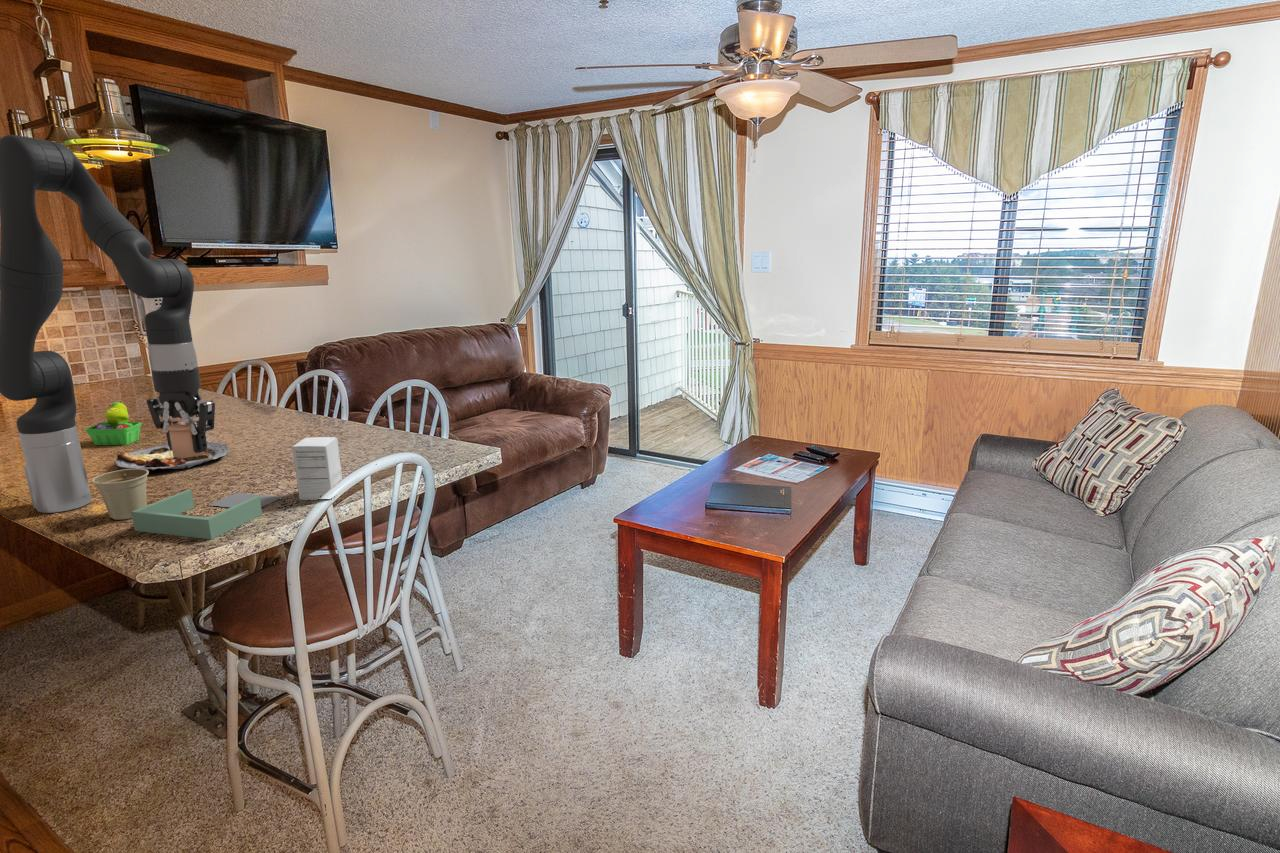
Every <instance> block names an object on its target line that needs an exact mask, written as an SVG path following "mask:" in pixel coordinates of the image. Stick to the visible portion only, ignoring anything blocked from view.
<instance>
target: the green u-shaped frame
mask: <svg viewBox="0 0 1280 853" xmlns="http://www.w3.org/2000/svg"><path fill="white" fill-rule="evenodd" d="M194 507H195V502H194V497H193V490H192V489H186V490H184V491H180V492H178V493H176V494H174V495H171V496H168V497H165V498H163V499H160V500H158V501H155V502H153V503H150V504H148V505H147V506H145V507H142V508H140V509H137V510H134V511H132V512H131V514H132V518H131V519H132V524H133V528H134V531H135V532H140V533H141V532H142V533H143V532H144V533H150V534H151V533H152V534H158V535H159V534H161V535H168V536H169V535H170V536H177V537H186V538H187V537H188V538H196V539H203V540H204V539H205V540H214V539H215V537H216V538H217V536H218V537H220V536H222V535H223V534H225V533H228V532H229V531H232V530H234V529H236V528H239V527H240V526H242V525H244V524H246V523H248V522H250V521H252V520H254V519H257V518H258V517H260V516H262V515H263V511H262V508H261V502H260V497H258V496H255V497H253V498H251V499H248V500H246V501H244V502H242V503H240V504H237V505H235V506H233V507H231V508H225V509H224V510H222V511H220V512H217V513H215V514H213V515H210V516H208V517H207V516H206V517H204V516H196V515H186V514H183V513H185V512H188V511H190V510H192V508H193V509H194ZM189 509H190V510H189ZM187 510H188V511H187ZM184 511H185V512H184ZM182 512H183V513H182ZM180 513H181V514H180ZM219 535H220V536H219ZM213 538H214V539H213Z"/></svg>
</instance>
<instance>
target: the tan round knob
mask: <svg viewBox="0 0 1280 853" xmlns="http://www.w3.org/2000/svg"><path fill="white" fill-rule="evenodd" d="M195 425H196V427H199V424H197V423H196V422H195ZM166 427H167V430H169V434H170V440H171V446H172V452H173V456H174V457H180V458H181V457H192V456H197V455H200V454H203V453H204V452H201V453H195V452H194V447H193V441H192V435H193V434H192V432H191V429H190V427H189V426H188V425H186V424H185V423H184V421H183V420H181V421H180V422H178V423H171V425H167V426H166Z"/></svg>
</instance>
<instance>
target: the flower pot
mask: <svg viewBox="0 0 1280 853" xmlns="http://www.w3.org/2000/svg"><path fill="white" fill-rule="evenodd" d="M149 472H150V470H149V471H148V469H147V470H146V469H125V468H124V469H119V470H114V471H109V472H106V473H102V474H99V475H97V476H95V477H93V478H92V479H91V482H92V484H93V485H95V487H96V489H97V490H98V491H99V493H100V495H101V498H102V500H103V503H104V505H105V507H106V510H107V512H108V515H109V517H110V519H113V520H115V521H117V520H118V521H119V520H129V519H132V514H131V512H132V511H134V510H137V509H140V508H142V507H145V506H147V503H148V502H147V481H148V475H149Z"/></svg>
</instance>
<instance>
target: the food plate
mask: <svg viewBox="0 0 1280 853" xmlns="http://www.w3.org/2000/svg"><path fill="white" fill-rule="evenodd" d="M230 449H231V448H230V447H229V445H227V444H225V443H222V442H216V441H207V448H206V451H204V453H203V454H200V455H197V456H192V457H181V458H180V457H174V456H173V452H172V450H170V447H169V446H168V443H164V444H159V445H154V446H151V447H147V448H143V449H139V450H135V451H132V452H128V453H127V452H122V453H121V452H120V453H119V454H117V455H116V459H115V460H114V462H113V463H114V465H115V466H116V467H117V468H118V469H119V468H120V469H122V470H125V469H146V470H148V471H149V472H150V471H156V469H161V470H166V469H172V470H181V469H182V470H183V469H190V468H192V467H194V466H199V465H202V464H203V463H206V462H209V461H212V460H216V459H219V458H221V457H224V456H225V455H227V454H228V452H229V450H230ZM210 456H211V457H210Z"/></svg>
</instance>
